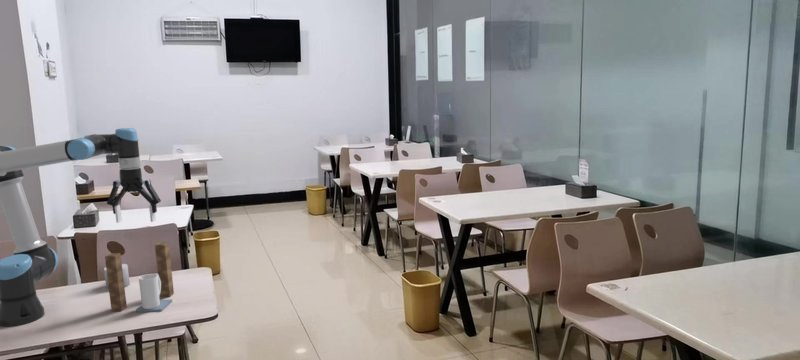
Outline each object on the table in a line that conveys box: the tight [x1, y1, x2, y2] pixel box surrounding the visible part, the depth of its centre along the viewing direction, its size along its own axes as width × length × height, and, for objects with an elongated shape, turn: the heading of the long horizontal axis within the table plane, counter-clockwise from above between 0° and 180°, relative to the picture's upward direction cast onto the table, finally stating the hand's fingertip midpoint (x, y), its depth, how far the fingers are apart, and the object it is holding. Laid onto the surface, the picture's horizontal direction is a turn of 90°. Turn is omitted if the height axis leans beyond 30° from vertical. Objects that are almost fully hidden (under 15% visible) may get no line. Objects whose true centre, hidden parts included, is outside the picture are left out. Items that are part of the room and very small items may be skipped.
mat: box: [135, 299, 173, 313], centre depth 228 cm, size 10×10×1 cm
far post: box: [154, 241, 175, 298], centre depth 238 cm, size 4×4×22 cm
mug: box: [138, 273, 161, 309], centre depth 227 cm, size 10×7×12 cm, turn 165°
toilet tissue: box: [103, 263, 131, 291], centre depth 254 cm, size 9×13×9 cm
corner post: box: [104, 252, 128, 312], centre depth 225 cm, size 4×4×22 cm
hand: (136, 221), depth 230 cm, fingers open, 13 cm apart
